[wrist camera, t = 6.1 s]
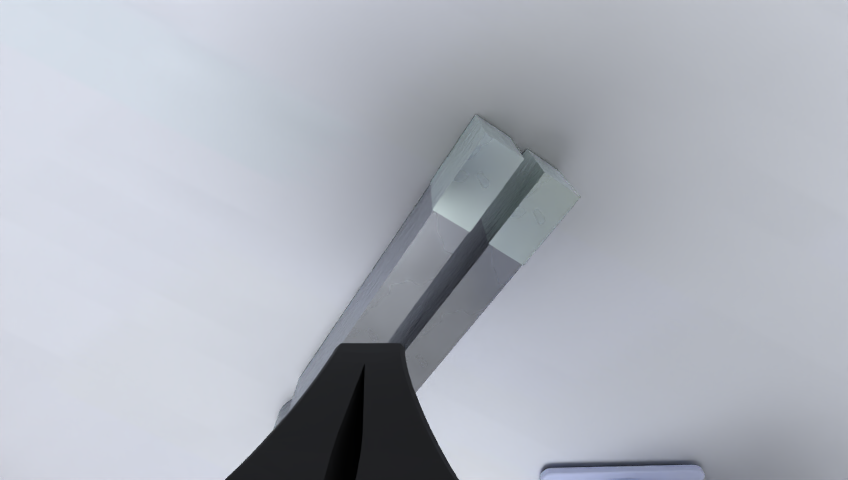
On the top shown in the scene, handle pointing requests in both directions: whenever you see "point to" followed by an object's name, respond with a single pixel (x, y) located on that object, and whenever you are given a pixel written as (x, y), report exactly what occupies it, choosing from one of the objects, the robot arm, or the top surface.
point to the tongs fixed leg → (482, 265)
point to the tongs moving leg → (424, 241)
